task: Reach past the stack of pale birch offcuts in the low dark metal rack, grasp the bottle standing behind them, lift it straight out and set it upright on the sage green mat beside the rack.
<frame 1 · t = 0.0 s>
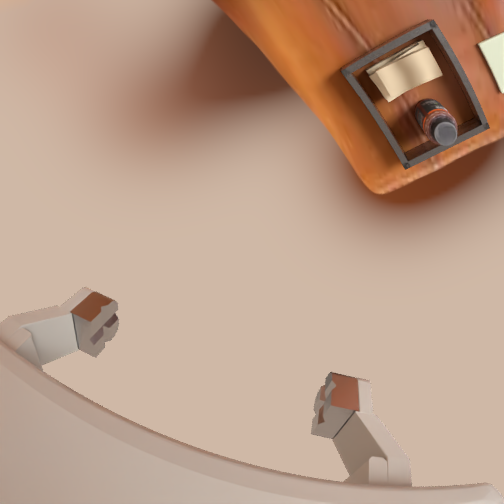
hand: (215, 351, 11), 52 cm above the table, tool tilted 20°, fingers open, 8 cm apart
offcut stack: (402, 68, 42), resting in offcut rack
supplement bottle: (429, 112, 46), resting in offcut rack
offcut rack: (417, 92, 44), on the table
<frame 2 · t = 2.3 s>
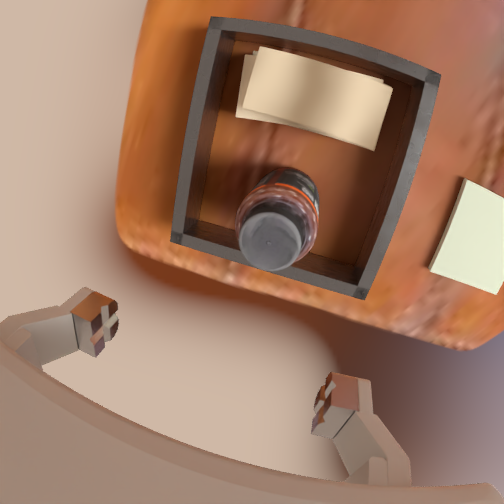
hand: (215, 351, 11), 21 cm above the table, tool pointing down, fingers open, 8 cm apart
offcut stack: (315, 98, 25), resting in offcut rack
supplement bottle: (288, 196, 30), resting in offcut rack
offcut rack: (300, 152, 27), on the table
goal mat: (482, 239, 26), on the table
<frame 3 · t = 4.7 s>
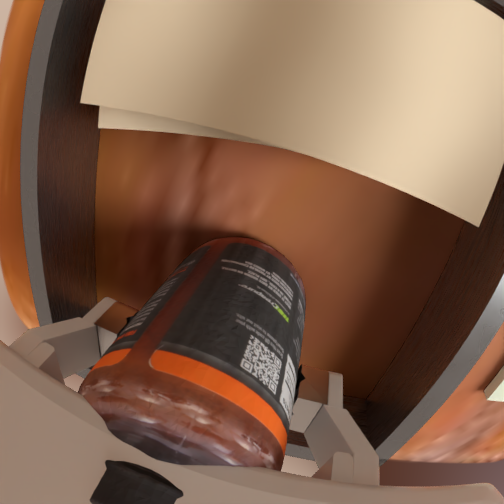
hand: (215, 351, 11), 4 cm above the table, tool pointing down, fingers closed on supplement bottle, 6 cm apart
offcut stack: (304, 71, 10), resting in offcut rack
supplement bottle: (243, 291, 15), resting in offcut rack, touching gripper
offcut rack: (265, 200, 12), on the table
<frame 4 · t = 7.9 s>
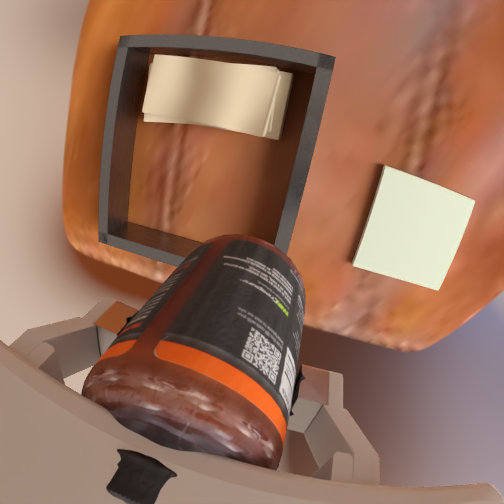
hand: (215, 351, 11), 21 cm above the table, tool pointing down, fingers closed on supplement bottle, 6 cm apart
offcut stack: (223, 96, 27), resting in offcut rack
supplement bottle: (245, 287, 15), point 16 cm above the table, touching gripper
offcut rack: (208, 152, 29), on the table
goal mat: (414, 230, 27), on the table
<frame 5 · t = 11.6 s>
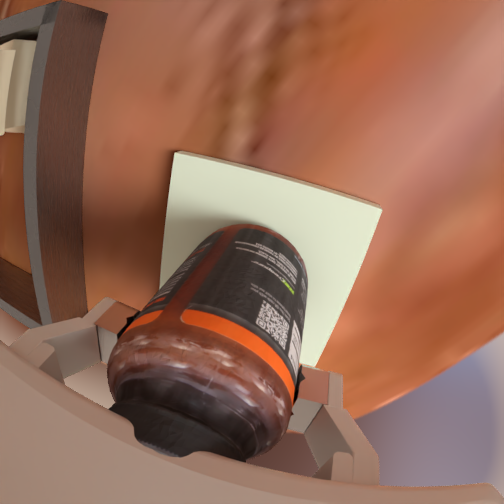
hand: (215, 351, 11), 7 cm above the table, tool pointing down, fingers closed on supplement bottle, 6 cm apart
offcut stack: (13, 88, 16), resting in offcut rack
supplement bottle: (251, 273, 16), point 1 cm above the table, touching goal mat, gripper
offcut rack: (3, 162, 18), on the table
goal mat: (255, 265, 17), on the table
when the fingers open (7 cm above the table, at t = 12.4 s): supplement bottle stays where it is, resting on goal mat.
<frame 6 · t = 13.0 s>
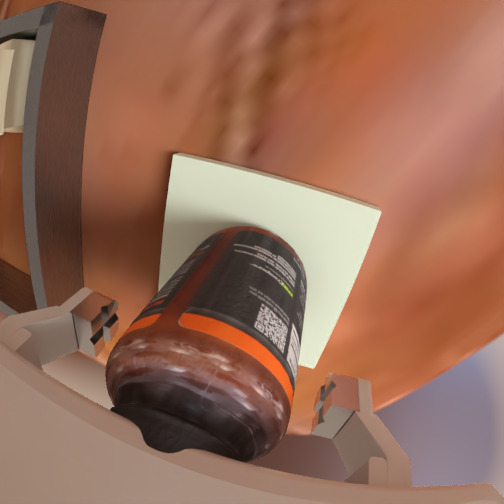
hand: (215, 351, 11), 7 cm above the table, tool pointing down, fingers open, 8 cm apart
offcut stack: (12, 88, 15), resting in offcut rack
supplement bottle: (250, 275, 16), point 1 cm above the table, touching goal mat
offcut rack: (2, 163, 18), on the table
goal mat: (254, 267, 17), on the table
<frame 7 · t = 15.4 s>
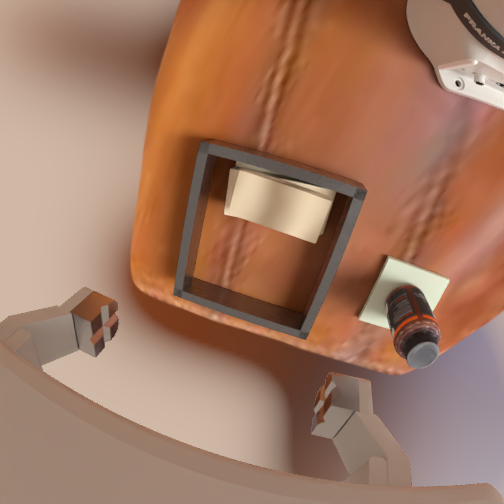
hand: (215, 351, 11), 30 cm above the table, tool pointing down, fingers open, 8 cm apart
offcut stack: (282, 193, 38), resting in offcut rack
supplement bottle: (404, 301, 39), point 1 cm above the table, touching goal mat
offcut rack: (264, 237, 41), on the table
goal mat: (404, 297, 40), on the table
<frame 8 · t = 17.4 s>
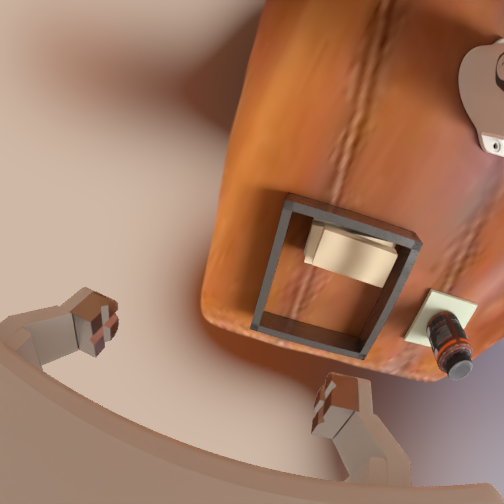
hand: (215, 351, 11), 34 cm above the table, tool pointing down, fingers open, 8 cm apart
offcut stack: (349, 241, 43), resting in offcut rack
supplement bottle: (441, 323, 44), point 1 cm above the table, touching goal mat
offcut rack: (331, 277, 46), on the table
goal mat: (440, 320, 45), on the table
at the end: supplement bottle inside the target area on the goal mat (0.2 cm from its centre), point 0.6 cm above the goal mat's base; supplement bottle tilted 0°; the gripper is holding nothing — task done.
